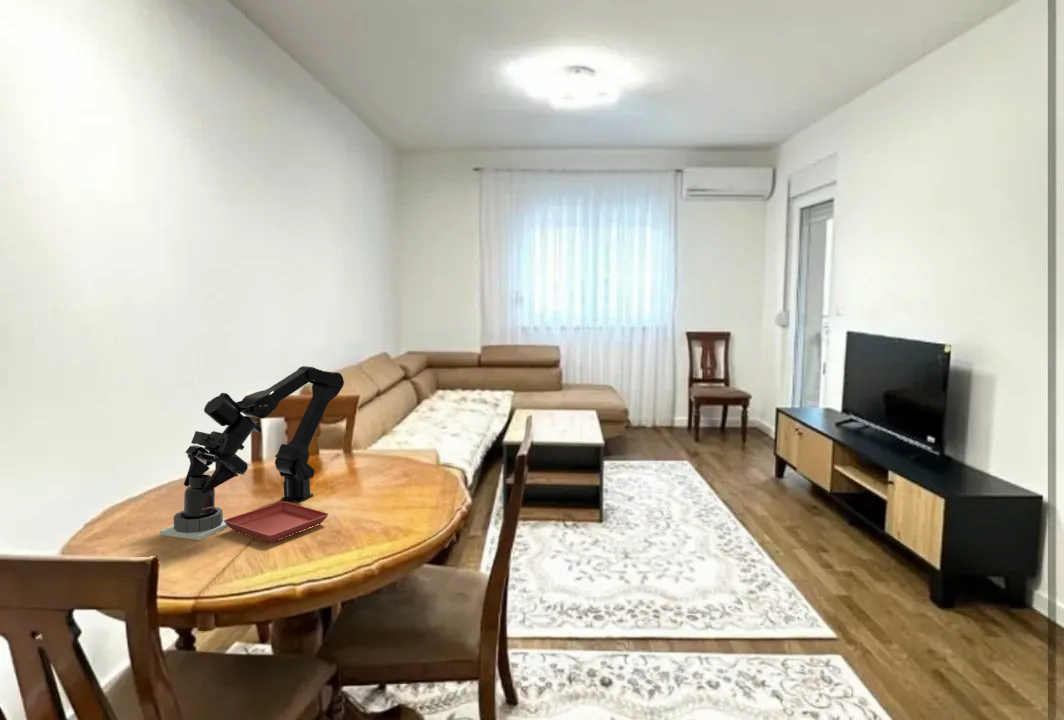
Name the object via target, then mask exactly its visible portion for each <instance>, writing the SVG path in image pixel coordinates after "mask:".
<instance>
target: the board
mask: <svg viewBox="0 0 1064 720" xmlns="http://www.w3.org/2000/svg"><path fill="white" fill-rule="evenodd" d="M225 519H228V518H227V517H226V518H225V517H223V522H222V524H221V525H220V526H218V527H216V528H214V529H211V530H207V531H203V532H195V533H182V532H177V531H176V530H175V529H174V524H173V525H171V526H168V527H165V528H164V529H163V528H162V530H159V536H165V537H173V538H179V539H181V538H182V539H187V540H197V541H202V540H204V539H206V538H209V537H211V536H213V535H215V534H217V533H219V532H221V531H223V530H225V528H226V529H227V527H228V528H230V527H229V526H228V525H227V524H226V523H225V522H224V520H225ZM222 529H223V530H222ZM220 530H221V531H220ZM218 531H219V532H218ZM216 532H217V533H216ZM214 533H215V534H214Z"/></svg>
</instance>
